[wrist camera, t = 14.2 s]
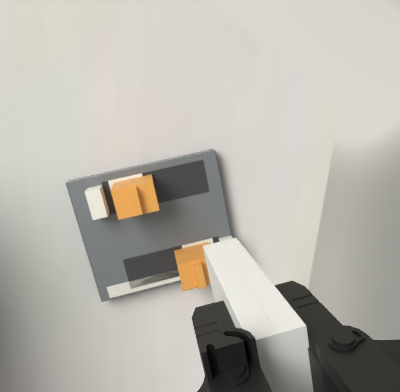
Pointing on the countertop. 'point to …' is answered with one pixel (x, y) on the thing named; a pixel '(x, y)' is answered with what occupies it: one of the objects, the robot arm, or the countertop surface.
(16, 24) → the countertop surface
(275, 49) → the countertop surface
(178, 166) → the switch board
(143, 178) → the tab front
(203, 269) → the tab back
